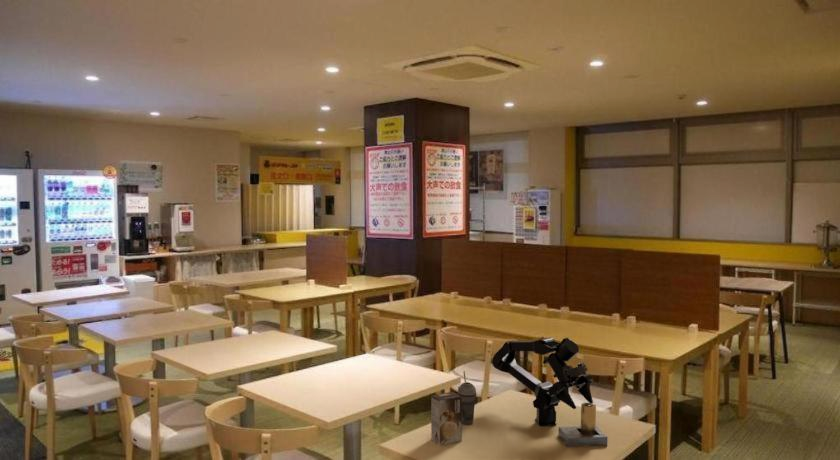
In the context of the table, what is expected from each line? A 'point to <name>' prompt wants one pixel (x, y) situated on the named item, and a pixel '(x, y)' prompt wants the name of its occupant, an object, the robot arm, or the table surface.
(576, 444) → the frame
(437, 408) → the coffee box
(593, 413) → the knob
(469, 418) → the beverage cup
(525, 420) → the table surface
